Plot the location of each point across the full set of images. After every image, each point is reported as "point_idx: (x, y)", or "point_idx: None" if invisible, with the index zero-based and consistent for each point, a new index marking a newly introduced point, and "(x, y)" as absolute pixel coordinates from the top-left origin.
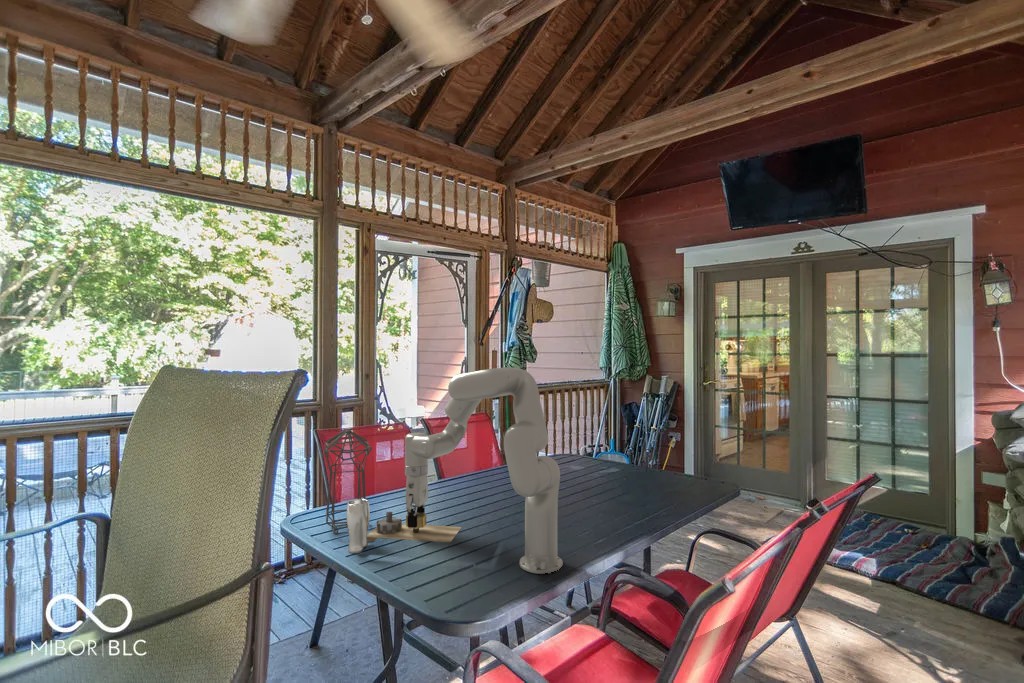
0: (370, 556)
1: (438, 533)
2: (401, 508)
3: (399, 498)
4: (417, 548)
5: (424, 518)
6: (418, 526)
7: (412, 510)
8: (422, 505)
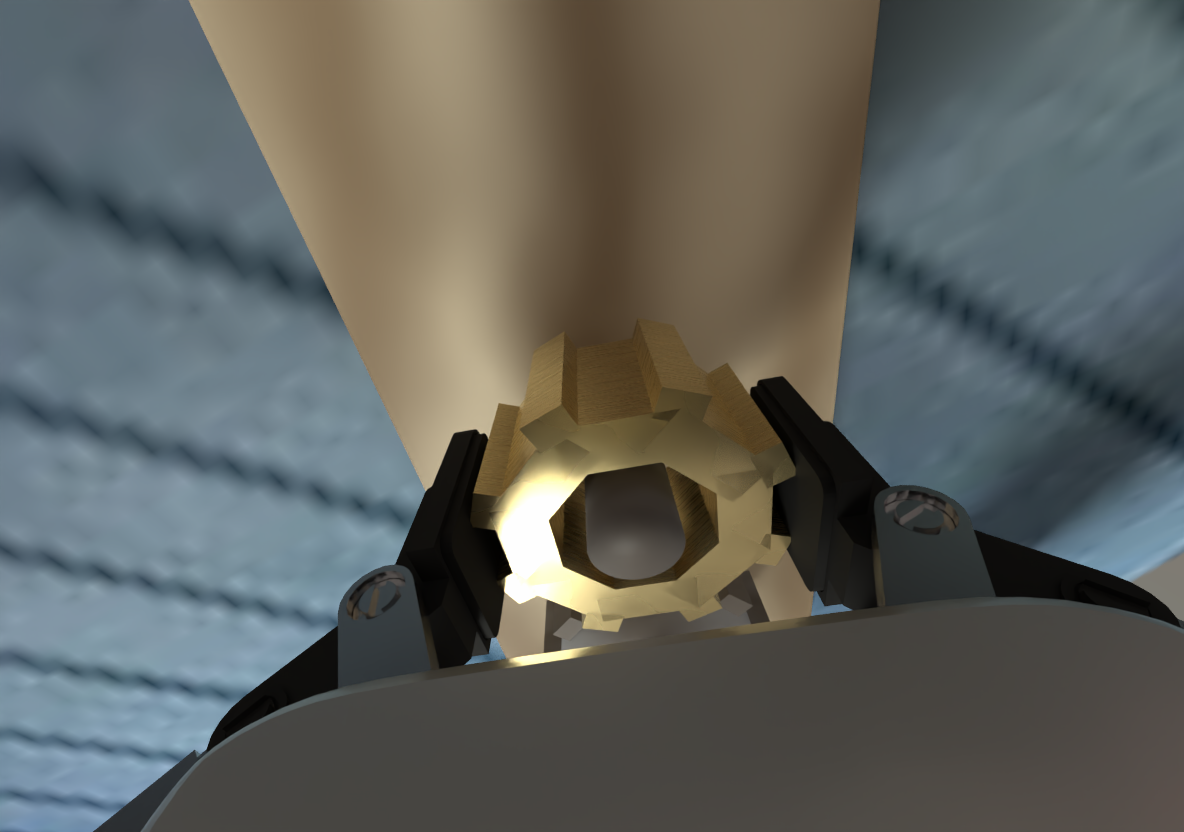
0: (1078, 472)
1: (564, 101)
2: (162, 719)
3: (40, 790)
4: (925, 194)
5: (662, 370)
6: (708, 379)
7: (1146, 609)
8: (428, 624)
